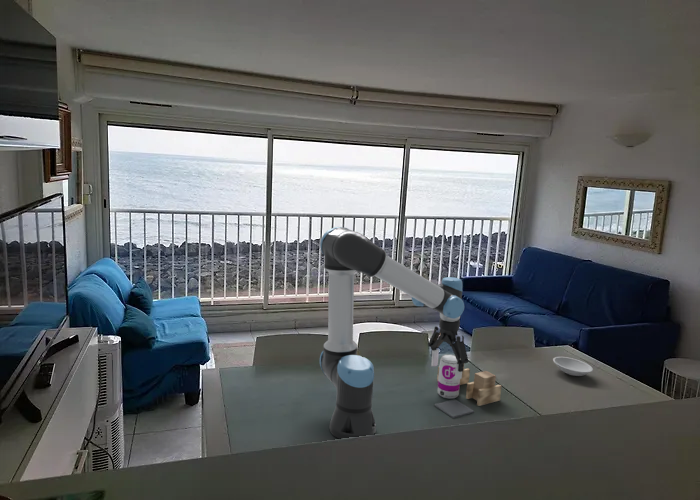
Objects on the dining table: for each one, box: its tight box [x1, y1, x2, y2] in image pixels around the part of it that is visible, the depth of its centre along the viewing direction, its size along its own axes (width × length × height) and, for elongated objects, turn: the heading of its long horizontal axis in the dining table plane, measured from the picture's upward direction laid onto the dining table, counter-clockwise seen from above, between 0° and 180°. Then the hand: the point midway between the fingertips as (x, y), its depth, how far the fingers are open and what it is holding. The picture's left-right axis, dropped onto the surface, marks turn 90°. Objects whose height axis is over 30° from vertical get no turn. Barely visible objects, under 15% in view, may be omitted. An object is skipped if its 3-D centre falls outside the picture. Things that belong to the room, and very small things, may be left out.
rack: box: [436, 359, 502, 407], centre depth 194 cm, size 11×24×10 cm, turn 30°
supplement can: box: [437, 354, 461, 400], centre depth 188 cm, size 8×8×15 cm
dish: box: [552, 356, 594, 377], centre depth 215 cm, size 18×14×5 cm
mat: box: [433, 398, 475, 419], centre depth 178 cm, size 10×10×1 cm
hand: (445, 372), depth 187 cm, fingers open, 13 cm apart
